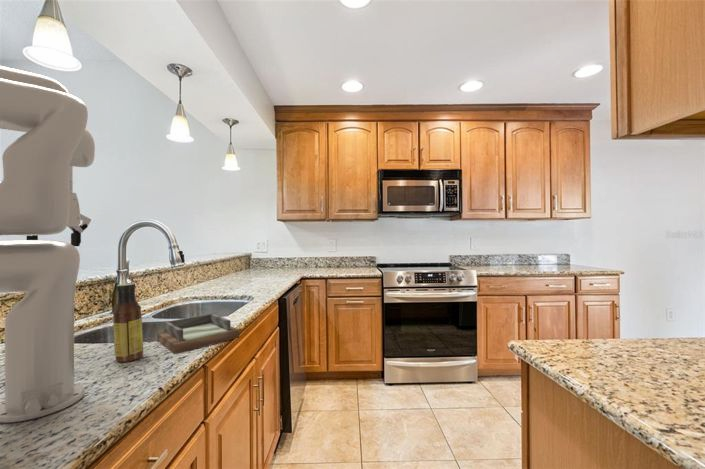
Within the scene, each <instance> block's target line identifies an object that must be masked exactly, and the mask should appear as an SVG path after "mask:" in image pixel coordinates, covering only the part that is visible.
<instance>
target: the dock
mask: <svg viewBox="0 0 705 469" xmlns="http://www.w3.org/2000/svg"><path fill="white" fill-rule="evenodd" d="M163 324H164V325H163V326H164V327H163V328H164V331H161V332H157V333H156V334H157V335H156V339H157V340H156V341H157V342H158V343H159V342H160V343H159V344H160V345H162V346H163V347H164V348H166V349H167V350H168V351H170V352H171V353H173V354H174V355H175V354H179V353H182V352H187V351H190V350H194V349H198V348H202V347H203V348H204V347H207V346H210V345H216V344H219V343H224V342H227V341H231V340H234V339H235V340H236V339H239V338H240V329H238V328H236V327H234V326H231V319H228V318H225V317H222V316H220V315H218V314H215V313H208V314H203V315H196V316H191V317H186V318H185V317H184V318H181V319H179V318H178V319H174V320H168V321H164V323H163Z"/></svg>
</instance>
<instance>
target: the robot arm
mask: <svg viewBox="0 0 705 469" xmlns="http://www.w3.org/2000/svg"><path fill="white" fill-rule="evenodd" d="M88 113H89V112H88V107H87V105H86V103H84V101H82V100H81V99H80V98H78V97H77V96H74V95H73V94H70V93H69V91H68V89H67V88H66V87H65V86H64V85H63V84H61V83H60V82H59V81H57V80H56V79H53V78H50V77H48V76H46V75H45V76H44V75H42V74H37V73H33V72H28V71H24V70H20V69H16V68H12V67H11V68H10V67H7V66H2V65H0V129H1V130H8V131H15V132H22V133H24V134H22V135H20V136H19V137H18V138H16V139H15V140H14V141H13V142H11V143H10V145H8V146H7V148H5V149H4V151H3V153H2V156H1V157H2V170H3V173H2V174H3V175H2V176H3V179H2V181H0V236H1V237H6V236H7V237H9V236H10V237H11V236H12V237H13V236H15V237H16V236H18V237H19V236H21V237H22V236H23V237H24V236H25V237H26V239H21V240H20V239H16V240H0V294H3V293H7V294H8V293H25V295H24V296H23V297H22V298H21V299H20V300H19V301H18V302H16V304H14V306H13V305H12V307H11V308H10V310H9V311H8V312H7V314H6V316H5V320H4V401H3V402H1V403H0V423H5V424H6V423H17V422H23V421H29V420H33V419H38V418H41V417H45V416H48V415H51V414H54V413H56V412H59V411H61V410H63V409H66V408H68V407H70V406H72V405H74V404H75V403H77V402H78V401H79V400H81V399H82V398H83V397H84V396H85V387H84V386H83V385H81V384H78V383H75V296H76V295H75V294H76V288H77V281H78V275H79V270H80V262H81V258H80V256H81V255H80V253H79V250H78V248H76V247H80V246H81V245H80V244H81V243H82V233H83V232H84V231H85V230H86V229H87V228H88V227H89V225H90V223H91V221H92V219H91V218H89V217H88V216H86V215H83V214H81V208H80V203H79V198H78V195H77V193H76V192H74V190H73V187H74V186H73V185H74V183H73V179H74V178H73V174H74V172H73V171H74V170H73V169H74V168H73V167H77V168H88V167H90V166H92V165H93V163H94V160H95V154H96V153H95V152H96V151H95V150H96V146H95V140H94V137H93V136H92V134H91V133H90V131H89V130H88V129H87V125H88V124H87V123H88V119H89V117H88ZM81 221H82V222H81ZM67 227H68V228H69V229H70V230H71V234H70V243H68V242H67V241H61V240H54V239H53V240H52V239H49V240H48V239H39V236H50V235H57V234H59V233H62V232H64V231H65V230H66V229H67Z"/></svg>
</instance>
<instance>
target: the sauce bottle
mask: <svg viewBox="0 0 705 469" xmlns="http://www.w3.org/2000/svg"><path fill="white" fill-rule="evenodd" d="M116 292H117V303H116V305H115V307H114V308H113V310H112V315H113V324H112V325H113V326H112V327H113V341H114V357H115V360H116V361H117V362H118V363H124V362H125V363H126V362H132V361H135V360H138V359H140V358H142V357H143V355H144V337H143V336H144V335H143V319H142V313H141V312H142V311H141V310H142V307H141V306H140V304H139V303H138V301H137V299H136V294H135V293H136V283H130V282H129V283H121V284H117V285H116Z"/></svg>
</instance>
